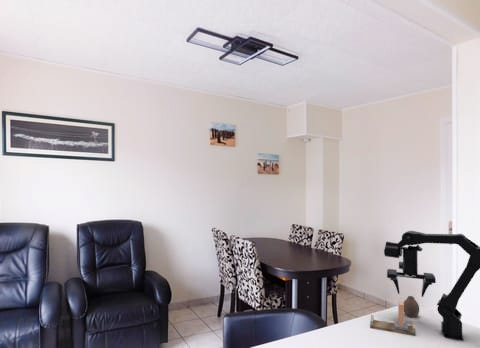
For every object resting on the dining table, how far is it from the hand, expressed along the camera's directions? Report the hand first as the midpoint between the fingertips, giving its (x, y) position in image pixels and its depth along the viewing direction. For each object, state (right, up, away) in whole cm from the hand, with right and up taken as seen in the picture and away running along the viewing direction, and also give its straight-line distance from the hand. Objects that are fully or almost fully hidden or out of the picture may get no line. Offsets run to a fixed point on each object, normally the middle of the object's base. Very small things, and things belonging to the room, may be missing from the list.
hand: (410, 295), depth 143 cm
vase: (+6, -14, +10) cm, 18 cm away
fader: (-7, -12, -5) cm, 14 cm away
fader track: (-10, -13, -4) cm, 17 cm away
